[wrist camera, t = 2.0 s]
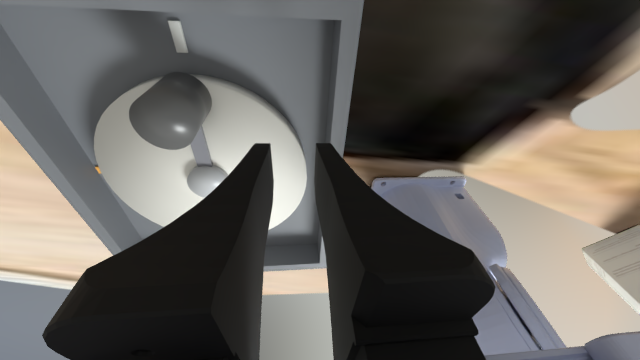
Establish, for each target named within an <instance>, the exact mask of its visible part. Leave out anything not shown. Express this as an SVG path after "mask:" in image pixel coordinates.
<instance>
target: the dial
mask: <svg viewBox="0 0 640 360" xmlns="http://www.w3.org/2000/svg"><path fill="white" fill-rule="evenodd" d="M255 143H270V144H271V156H272V167H273V179H274V189H273V205H272V211H271V217H270V223H269V229H271V228H274V227H275V226H277V225H279V224H280V223H282V222H283V221H284V220H286V219H287V218H288V217H289V216H290V215H291V214H292V213H293V212H294V211H295V209H296V208H297V207H298V205H299V204H300V202H301V200H302V197H303V195H304V192H305V188H306V181H307V173H306V159H305V154H304V150H303V147H302V144H301V142H300V139H299V137H298V135H297V134H296V132H295V130H294V128H293V127H292V126H291V124H290V123H289V122H288V121H287V119H286V118H285V117H284V116H283V115H282V114H281V113H280V112H279V111H278V110H277V109H276V108H275V107H274V106H272V105H271V104H270V103H269V102H267V101H266V100H265V99H263V98H262V97H260V96H259V95H257V94H255V93H254V92H252V91H250V90H248V89H246V88H244V87H242V86H240V85H237V84H235V83H232V82H229V81H226V80H223V79H219V78H215V77H210V76H205V75H195V74H187V73H183V72H172V73H169V74H167V75H165V76H161V77H156V78H153V79H150V80H147V81H144V82H142V83H140V84H138V85H136V86H135V87H133V88H131V89H130V90H128V91H127V92H125V93H124V94H123V95H121V96H120V97H119V98H118V99H116V100H115V101H114V102H113V103H112V104H110V105H109V106H108V108H107V109H106V110H105V112H104V113H103V114H102V115H101V118H100V120H99V122H98V124H97V126H96V131H95V135H94V152H95V157H96V161H97V164H98V166H99V169H100V171H101V173H102V175H103V177H104V179H105V180H106V182H107V183H108V185H109V186H110V187H111V189H112V190H113V191H114V192H115V193H116V194H117V195H118V197H119V198H120V199H121V200H122V201H124V202H125V203H126V204H127V205H128V206H129V207H131V208H132V209H133V210H135V211H136V212H138V213H139V214H140V215H142V216H144V217H145V218H147V219H149V220H151V221H152V222H155V223H157V224H159V225H161V226H163V227H165V226H166V225H168V224H170V223H171V222H173V221H174V220H176V219H177V218H178V217H180V216H181V215H183V214H184V213H185V212H187V211H188V210H190V209H191V208H192V207H194V206H195V205H196V204H198V203H199V202H200V201H201V200H203V199H204V198H205V197H206V196H207V195H209V194H210V193H211V192H212V191H213V190H214V189H215V188H216V187H217V186H218V185H219V184H220V183H221V182H222V181H223V180H224V179H225V178H226V177H227V176H228V175H229V174H230V173H231V172H232V171H233V169H234V168H235V167H236V166H237V165H238V164H239V163H240V161H241V160H242V159H243V158H244V156H245V155H246V154H247V153H248V151H249V150H250V149H251V147H252V146H253V145H254V144H255ZM269 229H268V230H269Z"/></svg>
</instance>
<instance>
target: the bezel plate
mask: <svg viewBox="0 0 640 360" xmlns="http://www.w3.org/2000/svg"><path fill="white" fill-rule="evenodd" d="M363 4H364V0H0V120H1V121H2V122H3V124H4V125H5V126H6V127H7V128H8V130H9V131H10V132H11V133H12V134H13V136H14V137H15V138H16V139H17V140H18V142H19V143H20V144H21V145H22V146H23V148H24V149H25V150H26V151H27V152H28V154H29V155H30V156H31V157H32V158H33V160H34V161H35V162H36V163H37V164H38V166H39V167H40V168H41V169H42V170H43V172H44V173H45V174H46V175H47V176H48V178H49V179H50V180H51V181H52V182H53V184H54V185H55V186H56V187H57V188H58V190H59V191H60V192H61V193H62V194H63V196H64V197H65V198H66V199H67V200H68V202H69V203H70V204H71V205H72V206H73V208H74V209H75V210H76V211H77V212H78V214H79V215H80V216H81V217H82V218H83V220H84V221H85V222H86V223H87V224H88V226H89V227H90V228H91V229H92V230H93V232H94V233H95V234H96V235H97V236H98V238H99V239H100V240H101V241H102V242H103V244H104V245H105V246H106V247H107V248H108V250H109V251H110V252H111V253H112V254H113V256H114V255H116V254H117V253H119V252H121V251H123V250H125V249H127V248H129V247H131V246H133V245H135V244H136V243H138V242H140V241H142V240H143V239H145V238H147V237H148V236H150V235H152V234H154V233H155V232H157V231H159V230H160V229H162V228H163V226H161V225H159V224H157V223H155V222H152V221H151V220H149V219H147V218H145V217H144V216H142V215H140V214H139V213H138V212H136V211H135V210H133V209H132V208H131V207H129V206H128V205H127V204H126V203H125V202H124V201H122V200H121V199H120V198H119V197H118V195H117V194H116V193H115V192H114V191H113V190H112V189H111V187H110V186H109V185H108V183H107V182H106V180H105V179H104V177H103V175H102V173H101V171H100V169H99V166H98V164H97V161H96V157H95V152H94V135H95V131H96V126H97V124H98V122H99V120H100V118H101V115H102V114H103V113H104V112H105V110H106V109H107V108H108V106H109V105H110V104H112V103H113V102H114V101H115V100H116V99H118V98H119V97H120V96H121V95H123V94H124V93H125V92H127V91H128V90H130V89H131V88H133V87H135V86H136V85H138V84H140V83H142V82H144V81H147V80H150V79H153V78H156V77H161V76H165V75H167V74H169V73H172V72H183V73H187V74H195V75H205V76H210V77H215V78H219V79H223V80H226V81H229V82H232V83H235V84H237V85H240V86H242V87H244V88H246V89H248V90H250V91H252V92H254V93H255V94H257V95H259V96H260V97H262V98H263V99H265V100H266V101H267V102H269V103H270V104H271V105H272V106H274V107H275V108H276V109H277V110H278V111H279V112H280V113H281V114H282V115H283V116H284V117H285V118H286V119H287V121H288V122H289V123H290V124H291V126H292V127H293V128H294V130H295V132H296V134H297V135H298V137H299V139H300V142H301V144H302V147H303V150H304V154H305V159H306V173H307V181H306V188H305V192H304V195H303V197H302V200H301V202H300V204H299V205H298V207H297V208H296V209H295V211H294V212H293V213H292V214H291V215H290V216H289V217H288V218H287V219H286V220H284V221H283V222H282V223H280V224H279V225H277V226H275V227H274V228H271V229H269V230H268V235H267V241H266V247H265V255H264V269H263V271H281V270H300V269H319V268H327V265H326V255H325V248H324V242H323V237H322V232H321V227H320V222H319V216H318V211H317V206H316V200H315V186H314V174H315V153H316V143H331V144H332V145H333V146H334V148H335V149H336V150H337V152H338V153H339V154H340V156H341V157H342V158H343V153H344V146H345V138H346V131H347V124H348V116H349V109H350V101H351V94H352V86H353V79H354V71H355V64H356V56H357V49H358V41H359V34H360V26H361V19H362V12H363Z"/></svg>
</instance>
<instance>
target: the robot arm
mask: <svg viewBox="0 0 640 360" xmlns="http://www.w3.org/2000/svg"><path fill="white" fill-rule="evenodd" d="M383 182H384V183H383ZM381 183H382V184H381ZM465 183H466V179H465V178H464V177H406V178H376V179H374V180H373V182H372V186H371V188H370V187H369V186H368V185H367V184H366V183H365V182H364V181H363V180H362V179H361V178H360V177H359V176H358V175H357V174H356V173H355V172H354V171H353V170H352V169H351V168H350V166H349V165H348V164H347V163H346V162H345V161H344V159H343V158H342V157H341V156H340V154H339V153H338V152H337V150H336V149H335V148H334V146H333V145H332V144H331V143H316V153H315V174H314V186H315V200H316V206H317V211H318V216H319V222H320V227H321V232H322V237H323V242H324V248H325V255H326V265H327V276H328V288H329V300H330V313H331V326H332V341H333V356H334V360H640V332H628V333H617V334H610V335H605V336H601V337H599V338H596V339H594V340H591V341H589V342H588V343H586V344H585V346H581V347H569V348H567V347H566V346H565V344H564V343H563V341H562V340H561V339H560V337H559V336H558V334H557V333H556V331H555V330H554V329H553V327H552V326H551V325H550V323H549V322H548V320H547V319H546V317H545V316H544V315H543V313H542V312H541V311H540V309H539V308H538V306H537V305H536V304H535V302H534V301H533V299H532V298H531V297H530V295H529V294H528V293H527V291H526V290H525V289H524V287H523V286H522V285H521V283H520V282H519V281H518V279H517V278H516V277H515V275H514V274H513V273H512V272H511V271H510V269H508V268H506V264H507V253H506V248H505V244H504V241H503V239H502V237H501V235H500V233H499V231H498V230H497V229H496V227H495V226H494V225H493V224H492V222H491V221H490V220H489V218H488V217H487V216H486V215H485V213H484V212H483V211H482V210H481V209H480V207H479V206H478V205H477V203H476V202H475V201H474V200H473V198H472V197H471V196H470V195H469V193H468V192H467V191H466V190H465V188H464V185H465ZM273 189H274V179H273V167H272V156H271V144H270V143H255V144H254V145H253V146H252V147H251V149H250V150H249V151H248V153H247V154H246V155H245V156H244V158H243V159H242V160H241V161H240V163H239V164H238V165H237V166H236V167H235V168H234V169H233V171H232V172H231V173H230V174H229V175H228V176H227V177H226V178H225V179H224V180H223V181H222V182H221V183H220V184H219V185H218V186H217V187H216V188H215V189H214V190H213V191H212V192H211V193H210V194H209V195H207V196H206V197H205V198H204V199H203V200H201V201H200V202H199V203H198V204H196V205H195V206H194V207H192V208H191V209H190V210H188V211H187V212H185V213H184V214H183V215H181V216H180V217H178V218H177V219H176V220H174V221H173V222H171V223H170V224H168V225H166V226H165V227H163V228H162V229H160V230H159V231H157V232H155V233H154V234H152V235H150V236H148V237H147V238H145V239H143V240H142V241H140V242H138V243H136V244H135V245H133V246H131V247H129V248H127V249H125V250H123V251H121V252H119V253H117V254H116V255H114V256H112V257H110V258H108V259H106V260H104V261H102V262H100V263H98V264H96V265H94V266H92V267H90V268H88V269H86V271H85V272H84V273H83V275H82V276H81V277H80V279H79V280H78V282H77V283H76V284H75V286H74V287H73V289H72V290H71V292H70V293H69V295H68V296H67V298H66V299H65V301H64V302H63V304H62V305H61V306H60V308H59V309H58V311H57V312H56V314H55V315H54V317H53V318H52V320H51V321H50V322H49V324H48V325H47V327H46V328H45V331H44V333H43V335H42V336H43V338H44V340H45V342H46V344H47V346H48V347H49V348H51V349H52V350H54V351H55V352H57V353H58V354H60V355H62V356H64V357H66V358H68V359H70V360H259V350H260V325H261V304H262V286H263V269H264V255H265V247H266V241H267V235H268V229H269V223H270V217H271V211H272V205H273ZM496 280H497V281H496ZM499 285H500V286H499ZM539 345H540V346H539ZM541 348H542V349H541Z"/></svg>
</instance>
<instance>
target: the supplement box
mask: <svg viewBox="0 0 640 360" xmlns="http://www.w3.org/2000/svg"><path fill="white" fill-rule="evenodd" d="M582 251H583V254H584V257H585V259H586V262H587V264H588V266H589V267H590V268H592V269H593V270H594V271H595V272H596V273H597V274H598V275H599V276H600V277H601V278H602V279H603V280H604V281H605V282H606V283H607V284H608V285H609V286H610V287H611V288H612V289H613V290H614V291H615V292H616V293H617V294H618V295H619V296H620V297H621V298H623V300H625V301H626V302H627V303H628V304H629V305H630V306H631V307H632V308H633V309H634V310H635V311H636V312H637V313H638V314H639V315H640V225H637V226H635V227H632V228H630V229H628V230H625V231H623V232H621V233H618V234H616V235H614V236H611V237H608V238H606V239H604V240H601V241H599V242H596V243H594V244H591V245H589V246H587V247H584V248H582Z"/></svg>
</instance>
